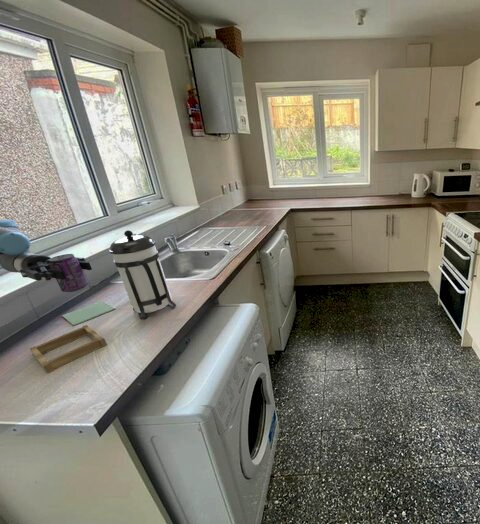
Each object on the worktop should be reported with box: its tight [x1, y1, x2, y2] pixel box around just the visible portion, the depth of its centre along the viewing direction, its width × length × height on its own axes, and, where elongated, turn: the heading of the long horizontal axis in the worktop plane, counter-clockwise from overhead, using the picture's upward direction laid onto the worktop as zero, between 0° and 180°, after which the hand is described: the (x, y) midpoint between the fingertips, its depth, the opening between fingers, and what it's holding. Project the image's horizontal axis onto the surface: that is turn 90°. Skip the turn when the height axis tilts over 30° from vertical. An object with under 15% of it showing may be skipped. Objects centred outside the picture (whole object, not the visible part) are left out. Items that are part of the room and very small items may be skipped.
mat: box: [61, 300, 116, 327], centre depth 105 cm, size 12×12×1 cm
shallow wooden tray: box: [29, 324, 108, 374], centre depth 85 cm, size 14×13×2 cm
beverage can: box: [49, 253, 89, 293], centre depth 98 cm, size 7×7×12 cm
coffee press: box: [108, 229, 177, 321], centre depth 99 cm, size 17×16×30 cm
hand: (76, 270), depth 96 cm, fingers closed on beverage can, 7 cm apart
